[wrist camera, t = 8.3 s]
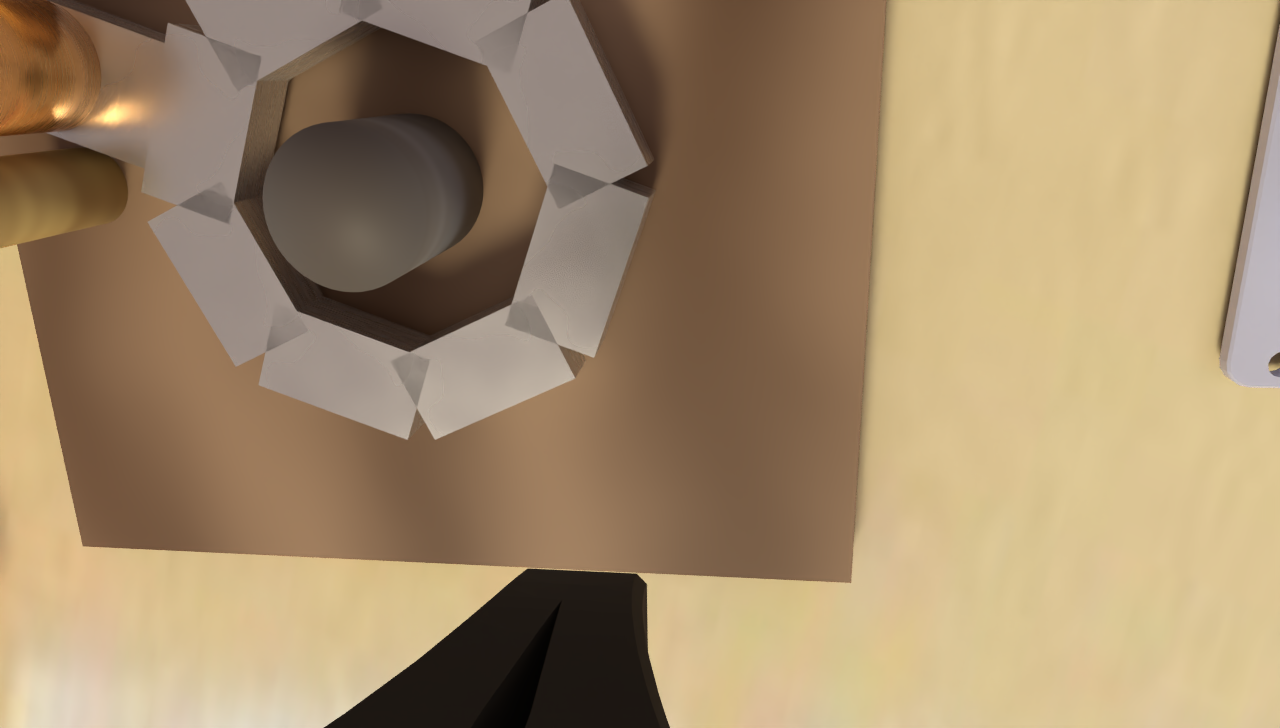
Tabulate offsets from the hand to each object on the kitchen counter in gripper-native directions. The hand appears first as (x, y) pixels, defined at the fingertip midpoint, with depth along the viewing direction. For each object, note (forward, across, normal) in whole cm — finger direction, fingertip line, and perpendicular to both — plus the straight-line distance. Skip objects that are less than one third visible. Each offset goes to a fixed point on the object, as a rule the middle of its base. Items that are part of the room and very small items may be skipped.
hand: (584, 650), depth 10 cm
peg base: (+10, +5, -4) cm, 12 cm away
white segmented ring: (+9, +7, -5) cm, 12 cm away
